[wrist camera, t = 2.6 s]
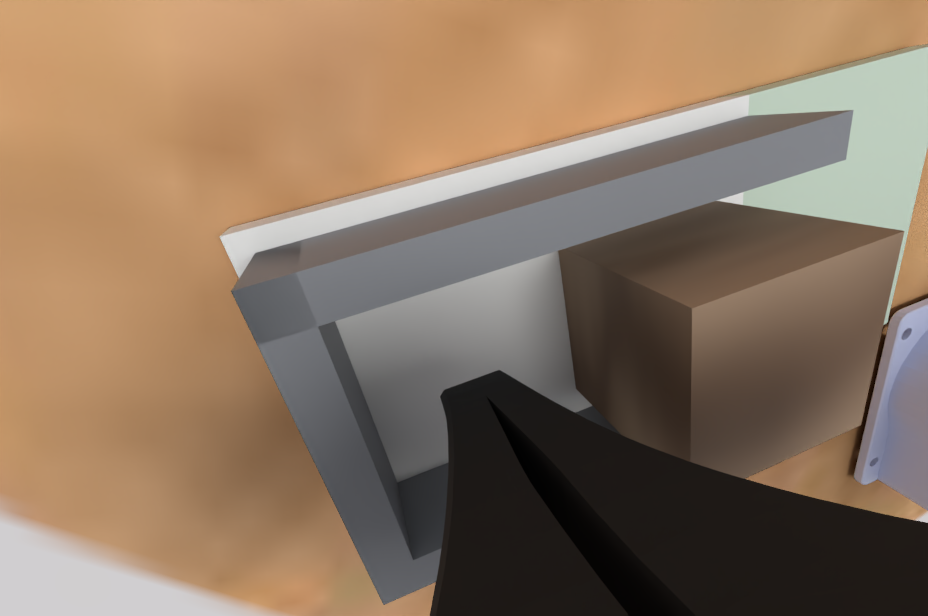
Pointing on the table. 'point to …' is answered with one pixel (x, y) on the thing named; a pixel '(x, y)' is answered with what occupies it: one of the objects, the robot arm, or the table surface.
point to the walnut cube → (730, 330)
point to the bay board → (529, 271)
